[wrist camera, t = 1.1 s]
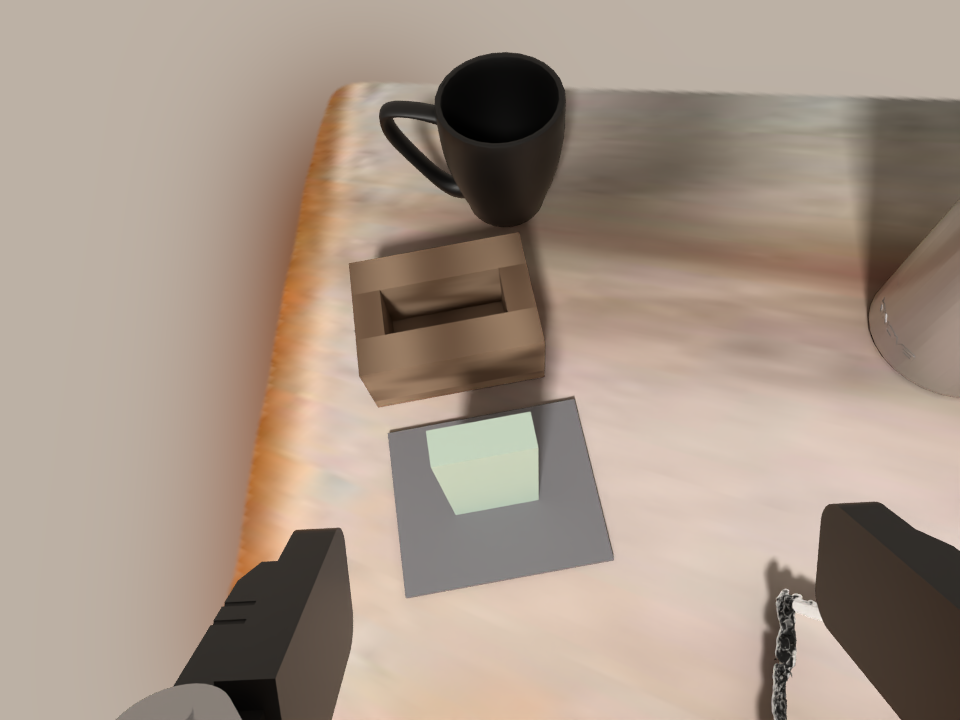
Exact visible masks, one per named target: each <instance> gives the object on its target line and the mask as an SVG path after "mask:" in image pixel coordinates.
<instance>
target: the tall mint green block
mask: <svg viewBox="0 0 960 720" xmlns="http://www.w3.org/2000/svg"><path fill="white" fill-rule="evenodd" d="M426 436H427V443H428V451H429V458H430V465H431V469H432V471H433V473H434V475H435V477H436V478H437V480H438V482H439V484H440V486H441V488H442V490H443V492H444V494H445V496H446V497H447V499H448V501H449V503H450V505H451V507H452V509H453V511H454V513H455V515H459V514H465V513H470V512H476V511H481V510H487V509H492V508H497V507H503V506H508V505H514V504H519V503H525V502H530V501H535V500H539V481H538V444H537V439H536V434H535V430H534V425H533V420H532V416H531V412H525V413H520V414H515V415H509V416H504V417H498V418H493V419H487V420H482V421H477V422H471V423H466V424H460V425H455V426H450V427H444V428H439V429H433V430H428V431H426Z"/></svg>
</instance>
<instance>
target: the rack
mask: <svg viewBox="0 0 960 720" xmlns="http://www.w3.org/2000/svg"><path fill="white" fill-rule="evenodd" d="M349 269H350V280H351V291H352V302H353V313H354V324H355V335H356V346H357V357H358V368H359V377H360V378H361V380H362V381H363V383H364V385H365V386H366V388H367V390H368V391H369V393H370V395H371V396H372V398H373V400H374V401H375V403H376V405H377V406H378V407H383V406H389V405H394V404H400V403H405V402H410V401H416V400H421V399H427V398H432V397H438V396H443V395H448V394H454V393H459V392H465V391H470V390H475V389H481V388H486V387H492V386H497V385H503V384H508V383H513V382H519V381H524V380H530V379H535V378H541V377H544V368H545V340H544V336H543V331H542V327H541V323H540V319H539V314H538V310H537V306H536V302H535V297H534V293H533V289H532V285H531V281H530V276H529V272H528V268H527V264H526V259H525V255H524V251H523V247H522V242H521V238H520V234H519V232H517V233H511V234H506V235H500V236H495V237H490V238H484V239H479V240H473V241H468V242H463V243H457V244H452V245H446V246H441V247H436V248H430V249H425V250H419V251H414V252H409V253H403V254H398V255H392V256H387V257H381V258H376V259H371V260H365V261H360V262H354V263H349Z"/></svg>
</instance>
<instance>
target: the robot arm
mask: <svg viewBox="0 0 960 720" xmlns="http://www.w3.org/2000/svg"><path fill="white" fill-rule="evenodd" d="M869 324H870V331H871V334H872V337H873V340H874V342H875V345H876V346H877V348H878V350H879V351H880V353H881V354H882V356H883V357H884V359H885V360H886V361H887V362H888V363H889V364H890V365H891V366H892V367H893V368H894V369H895V370H896V371H897V372H899V373H900V374H901V375H902V376H904V377H905V378H906V379H908V380H909V381H911V382H913V383H915V384H917V385H918V386H920V387H922V388H924V389H927V390H930V391H932V392H935V393H938V394H941V395H946V396H952V397H957V398H960V199H959V200H958V201H957V202H956V203H955V205H954V206H953V207H952V208H951V209H950V210H949V211H948V213H947V214H946V215H945V216H944V217H943V218H942V219H941V220H940V222H939V223H938V224H937V225H936V226H935V227H934V228H933V229H932V231H931V232H930V233H929V234H928V235H927V236H926V237H925V239H924V240H923V241H922V242H921V243H920V244H919V245H918V246H917V248H916V249H915V250H914V251H913V252H912V253H911V254H910V255H909V256H908V258H907V259H906V260H905V261H904V262H903V263H902V264H901V266H900V267H899V268H898V269H897V270H896V271H895V273H894V274H893V275H892V276H891V277H890V278H889V279H888V281H887V282H886V283H885V284H884V285H883V286H882V287H881V289H880V290H879V291H878V292H877V293H876V295H875V297H874V299H873V301H872V303H871V306H870V313H869ZM815 592H816V601H817V606H818V609H819V613H820V615H821V618H822V620H823V622H824V624H825V626H826V627H827V629H828V630H829V631H830V633H831V634H832V635H833V636H834V637H835V639H836V640H837V641H838V642H839V644H840V645H841V646H842V647H843V649H844V650H845V651H846V652H847V654H848V655H849V656H850V657H851V658H852V660H853V661H854V662H855V663H856V665H857V666H858V667H859V668H860V670H861V671H862V672H863V673H864V674H865V676H866V677H867V678H868V679H869V681H870V682H871V683H872V684H873V686H874V687H875V688H876V689H877V690H878V692H879V693H880V694H881V695H882V697H883V698H884V699H885V700H886V702H887V703H888V704H889V705H890V706H891V708H892V709H893V710H894V711H895V713H896V714H897V715H898V716H899V718H900V719H901V720H960V551H959V550H958V549H956V548H955V547H954V546H952V545H949V544H947V543H945V542H943V541H941V540H938V539H936V538H934V537H932V536H929V535H927V534H925V533H923V532H921V531H918V530H916V529H914V528H913V527H912V526H911V525H909V524H908V523H907V522H905V521H904V520H903V519H901V518H900V517H899V516H897V515H896V514H895V513H893V512H892V511H891V510H890V509H888V508H887V507H886V506H884V505H883V504H881V503H879V502H860V503H840V504H829V505H828V506H826V507H825V509H824V511H823V513H822V517H821V526H820V538H819V550H818V562H817V574H816V587H815ZM352 635H353V610H352V601H351V592H350V583H349V574H348V565H347V557H346V548H345V540H344V535H343V532H342V530H341V528H325V529H306V530H295V531H294V532H293V534H292V535H291V537H290V539H289V541H288V543H287V545H286V547H285V549H284V550H283V552H282V554H281V556H280V558H279V560H278V561H270V562H261V563H260V564H259V565H257V566H256V567H255V568H253V569H252V570H251V571H250V572H248V573H247V574H246V575H245V576H243V577H242V578H241V579H240V580H238V581H237V583H236V585H235V586H234V588H233V590H232V591H231V593H230V595H229V596H228V598H227V599H226V601H225V606H224V607H222V608H221V609H220V611H219V612H218V614H217V616H216V618H215V619H214V624H213V625H211V626H210V627H209V629H208V630H207V632H206V634H205V635H204V637H203V639H202V640H201V642H200V644H199V645H198V647H197V648H196V650H195V652H194V653H193V655H192V657H191V658H190V660H189V662H188V663H187V665H186V666H185V668H184V670H183V671H182V673H181V675H180V676H179V678H178V680H177V681H176V683H175V685H174V686H173V687H171V688H167V689H164V690H162V691H159V692H156V693H154V694H152V695H150V696H148V697H146V698H144V699H142V700H141V701H139V702H137V703H136V704H134V705H133V706H132V707H130V708H129V709H127V710H126V711H125V712H123V713H122V714H121V715H120V716H119V717H118V718H117V719H116V720H332V716H333V713H334V709H335V705H336V702H337V698H338V694H339V690H340V687H341V683H342V679H343V676H344V672H345V668H346V665H347V661H348V657H349V654H350V650H351V644H352Z"/></svg>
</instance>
